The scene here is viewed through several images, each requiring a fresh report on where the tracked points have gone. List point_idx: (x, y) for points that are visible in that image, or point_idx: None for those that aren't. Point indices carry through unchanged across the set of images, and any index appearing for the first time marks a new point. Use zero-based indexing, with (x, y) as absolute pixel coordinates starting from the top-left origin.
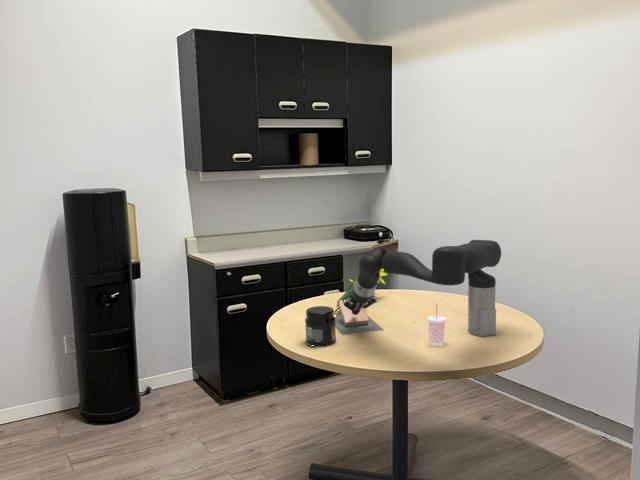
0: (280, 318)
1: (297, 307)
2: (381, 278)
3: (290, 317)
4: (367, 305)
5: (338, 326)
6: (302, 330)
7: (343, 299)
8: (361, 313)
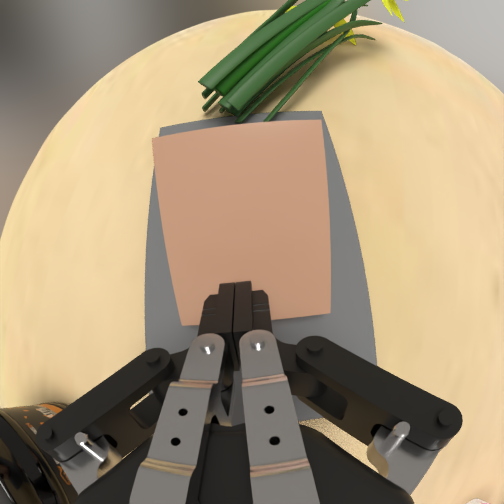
0: (48, 147)
1: (129, 67)
2: (395, 3)
3: (70, 139)
4: (334, 422)
5: (161, 291)
6: (41, 283)
7: (43, 447)
8: (296, 259)
